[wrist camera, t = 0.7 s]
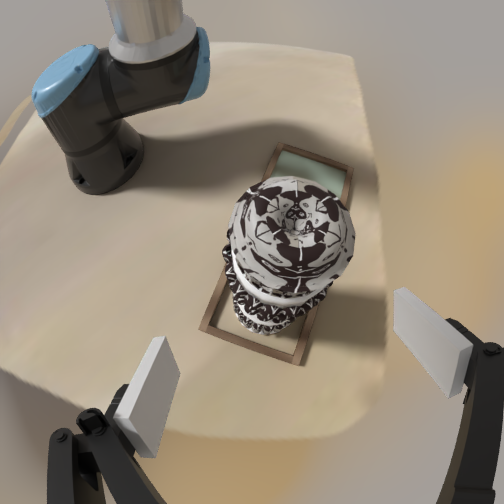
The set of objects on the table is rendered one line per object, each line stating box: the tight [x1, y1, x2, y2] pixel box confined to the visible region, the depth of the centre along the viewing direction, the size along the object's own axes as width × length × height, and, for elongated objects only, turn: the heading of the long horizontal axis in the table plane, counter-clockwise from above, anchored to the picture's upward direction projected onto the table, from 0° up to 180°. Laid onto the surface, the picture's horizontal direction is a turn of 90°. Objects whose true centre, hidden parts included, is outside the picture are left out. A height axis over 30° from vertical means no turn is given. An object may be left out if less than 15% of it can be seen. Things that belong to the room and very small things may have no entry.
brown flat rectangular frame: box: [199, 142, 354, 366], centre depth 43 cm, size 34×14×1 cm, turn 160°
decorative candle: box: [222, 176, 355, 335], centre depth 28 cm, size 9×9×25 cm
